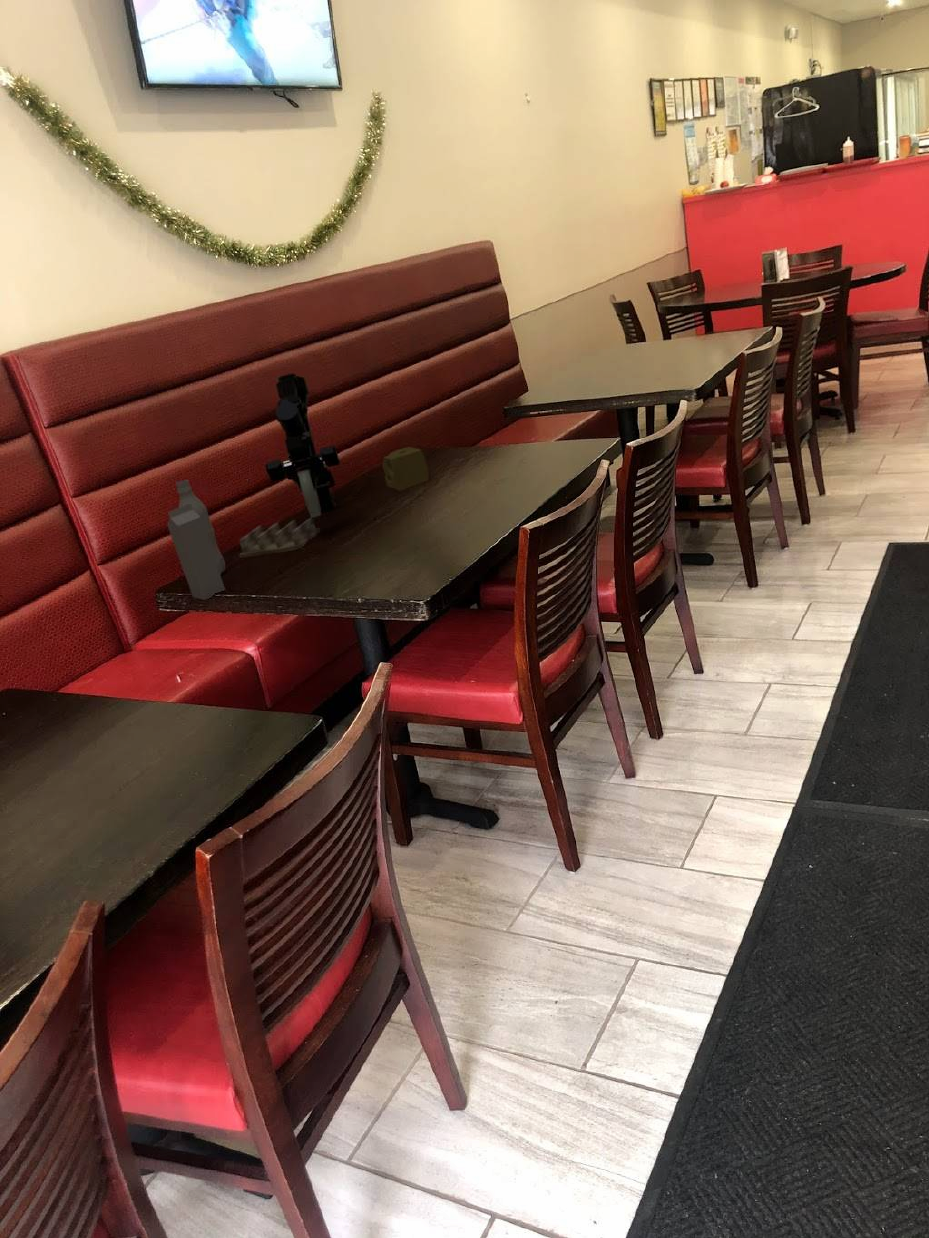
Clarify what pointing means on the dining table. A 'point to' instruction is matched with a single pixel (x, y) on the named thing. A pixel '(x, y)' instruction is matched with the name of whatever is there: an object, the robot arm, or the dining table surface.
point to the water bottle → (201, 510)
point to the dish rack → (277, 538)
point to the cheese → (405, 468)
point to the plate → (309, 493)
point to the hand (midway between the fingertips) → (308, 490)
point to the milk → (194, 552)
